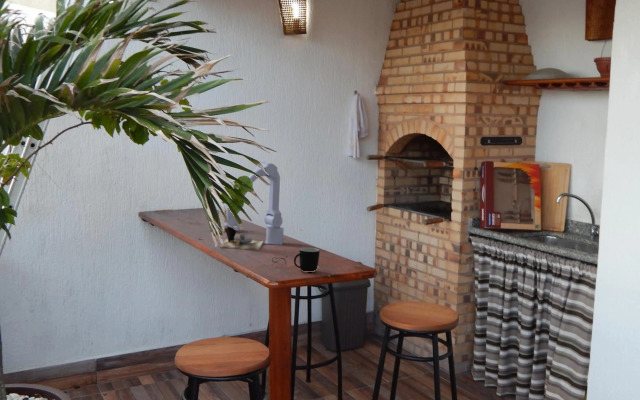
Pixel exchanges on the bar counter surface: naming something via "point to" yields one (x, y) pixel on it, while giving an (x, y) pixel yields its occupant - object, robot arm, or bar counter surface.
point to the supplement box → (222, 220)
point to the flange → (241, 240)
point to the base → (243, 244)
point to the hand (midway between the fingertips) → (230, 241)
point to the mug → (308, 259)
